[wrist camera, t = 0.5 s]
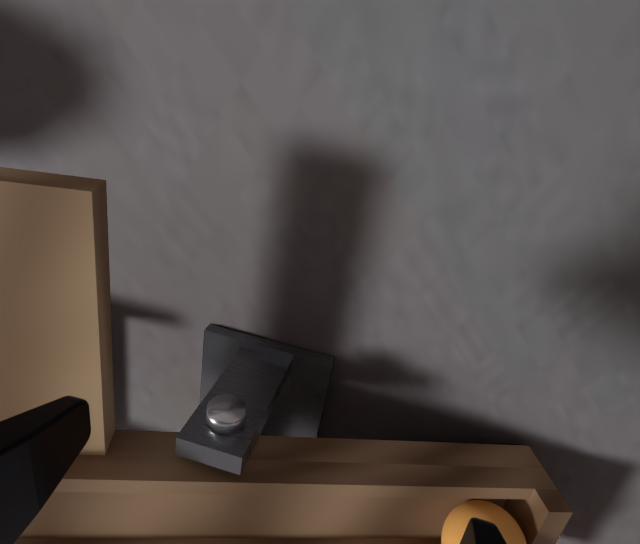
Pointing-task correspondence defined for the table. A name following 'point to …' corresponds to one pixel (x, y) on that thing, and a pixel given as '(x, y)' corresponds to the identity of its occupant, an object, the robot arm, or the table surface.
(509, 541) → the ball
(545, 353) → the table surface
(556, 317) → the table surface
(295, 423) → the stand
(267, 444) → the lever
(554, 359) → the table surface
